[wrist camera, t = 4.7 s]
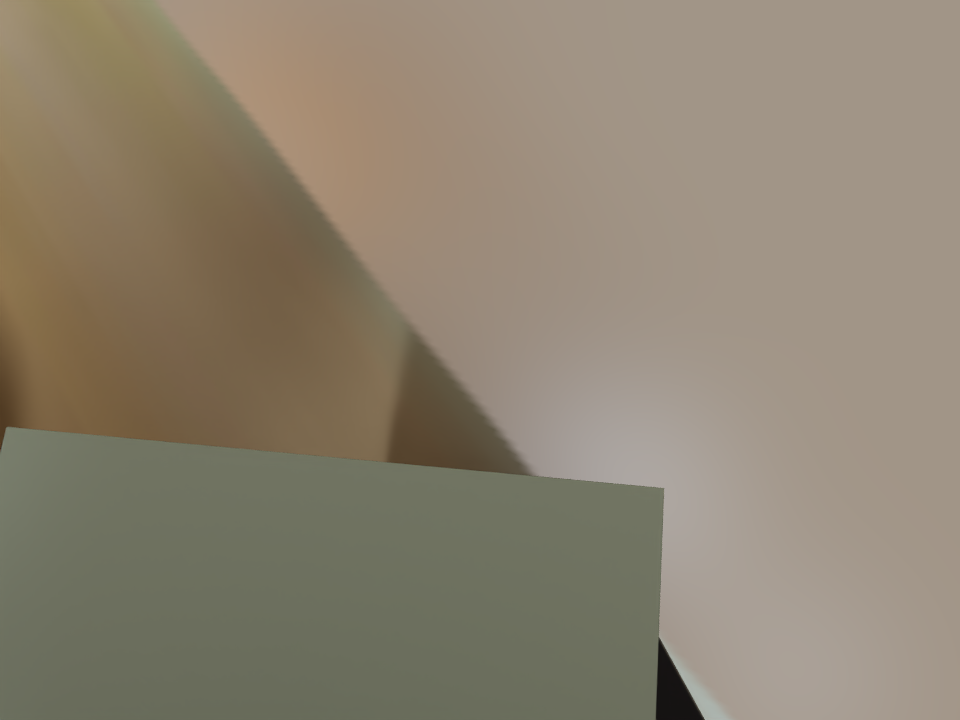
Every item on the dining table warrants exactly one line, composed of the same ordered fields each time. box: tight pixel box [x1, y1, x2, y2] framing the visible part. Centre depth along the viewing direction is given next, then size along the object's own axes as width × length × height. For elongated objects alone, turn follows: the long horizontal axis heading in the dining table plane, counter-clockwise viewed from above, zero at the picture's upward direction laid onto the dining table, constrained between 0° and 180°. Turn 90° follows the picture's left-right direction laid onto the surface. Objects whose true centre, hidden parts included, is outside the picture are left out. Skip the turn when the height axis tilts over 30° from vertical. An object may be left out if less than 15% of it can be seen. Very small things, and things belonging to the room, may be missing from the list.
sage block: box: [0, 427, 664, 720], centre depth 10 cm, size 5×5×12 cm
